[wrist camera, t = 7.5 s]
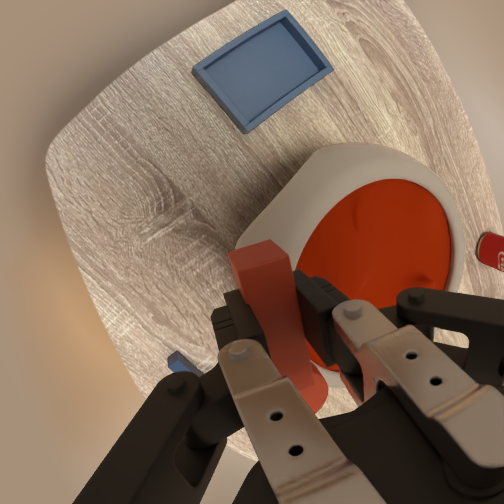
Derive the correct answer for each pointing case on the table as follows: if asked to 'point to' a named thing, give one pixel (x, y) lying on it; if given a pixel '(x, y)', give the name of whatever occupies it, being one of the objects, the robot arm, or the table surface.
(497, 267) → the beverage can
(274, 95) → the blue tray
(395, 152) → the pot
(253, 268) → the red spoon
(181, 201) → the table surface
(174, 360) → the blue spoon
